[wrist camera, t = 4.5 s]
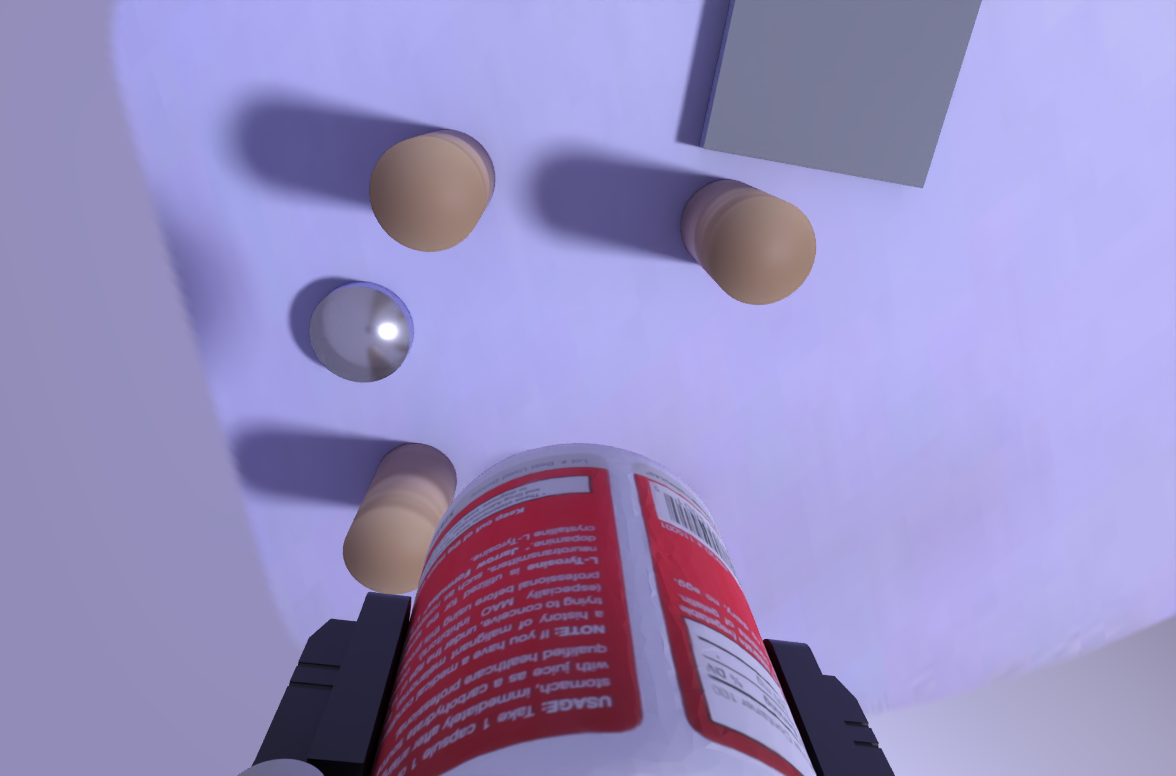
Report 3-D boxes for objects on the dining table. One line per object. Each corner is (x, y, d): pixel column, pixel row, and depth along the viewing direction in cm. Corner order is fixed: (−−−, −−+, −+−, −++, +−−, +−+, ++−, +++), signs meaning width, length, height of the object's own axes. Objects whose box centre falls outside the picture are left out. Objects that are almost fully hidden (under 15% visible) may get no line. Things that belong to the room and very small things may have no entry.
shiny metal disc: (320, 273, 28) (311, 279, 27) (419, 288, 29) (414, 296, 28) (316, 364, 30) (306, 374, 28) (410, 378, 30) (405, 388, 29)
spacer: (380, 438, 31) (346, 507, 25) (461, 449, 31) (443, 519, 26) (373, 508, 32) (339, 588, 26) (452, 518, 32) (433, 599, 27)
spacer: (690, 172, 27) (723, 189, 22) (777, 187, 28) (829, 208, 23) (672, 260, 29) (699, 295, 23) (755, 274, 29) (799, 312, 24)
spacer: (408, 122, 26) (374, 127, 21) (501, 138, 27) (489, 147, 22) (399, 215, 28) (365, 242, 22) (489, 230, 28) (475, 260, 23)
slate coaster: (754, -113, 24) (760, -120, 24) (989, -62, 25) (1002, -67, 25) (699, 146, 27) (703, 148, 26) (912, 185, 28) (923, 188, 27)
